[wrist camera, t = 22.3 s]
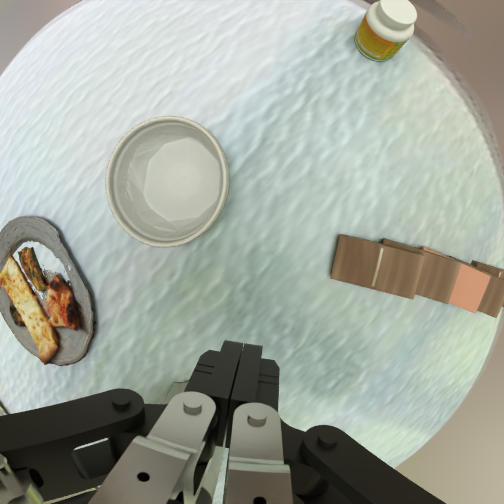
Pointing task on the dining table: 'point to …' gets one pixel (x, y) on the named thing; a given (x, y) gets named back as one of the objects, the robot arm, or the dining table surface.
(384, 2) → the supplement bottle
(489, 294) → the domino
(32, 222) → the food plate
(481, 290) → the domino
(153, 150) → the ramekin
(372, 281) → the domino
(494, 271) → the domino
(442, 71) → the dining table surface
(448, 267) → the domino
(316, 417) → the dining table surface
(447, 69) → the dining table surface
